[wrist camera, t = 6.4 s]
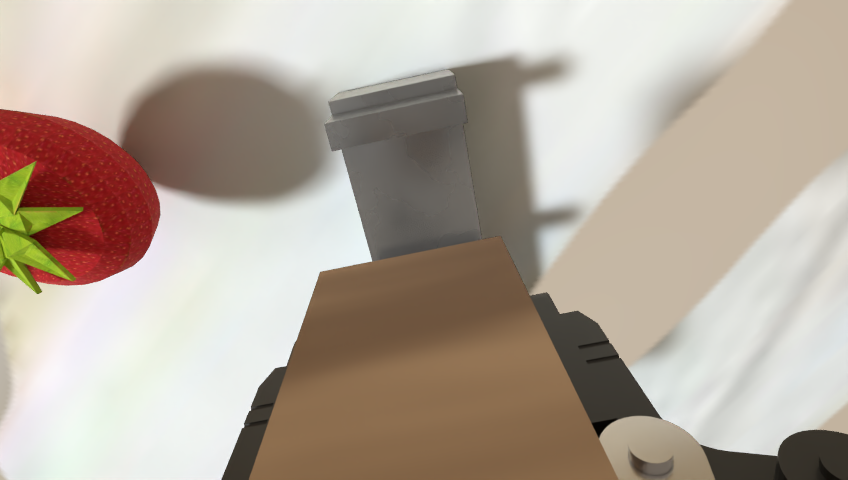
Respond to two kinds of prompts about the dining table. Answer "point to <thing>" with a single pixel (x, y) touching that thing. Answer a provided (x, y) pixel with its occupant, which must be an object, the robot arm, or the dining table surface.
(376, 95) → the rail
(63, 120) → the strawberry
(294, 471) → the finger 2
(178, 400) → the dining table surface
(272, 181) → the dining table surface
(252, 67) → the dining table surface
